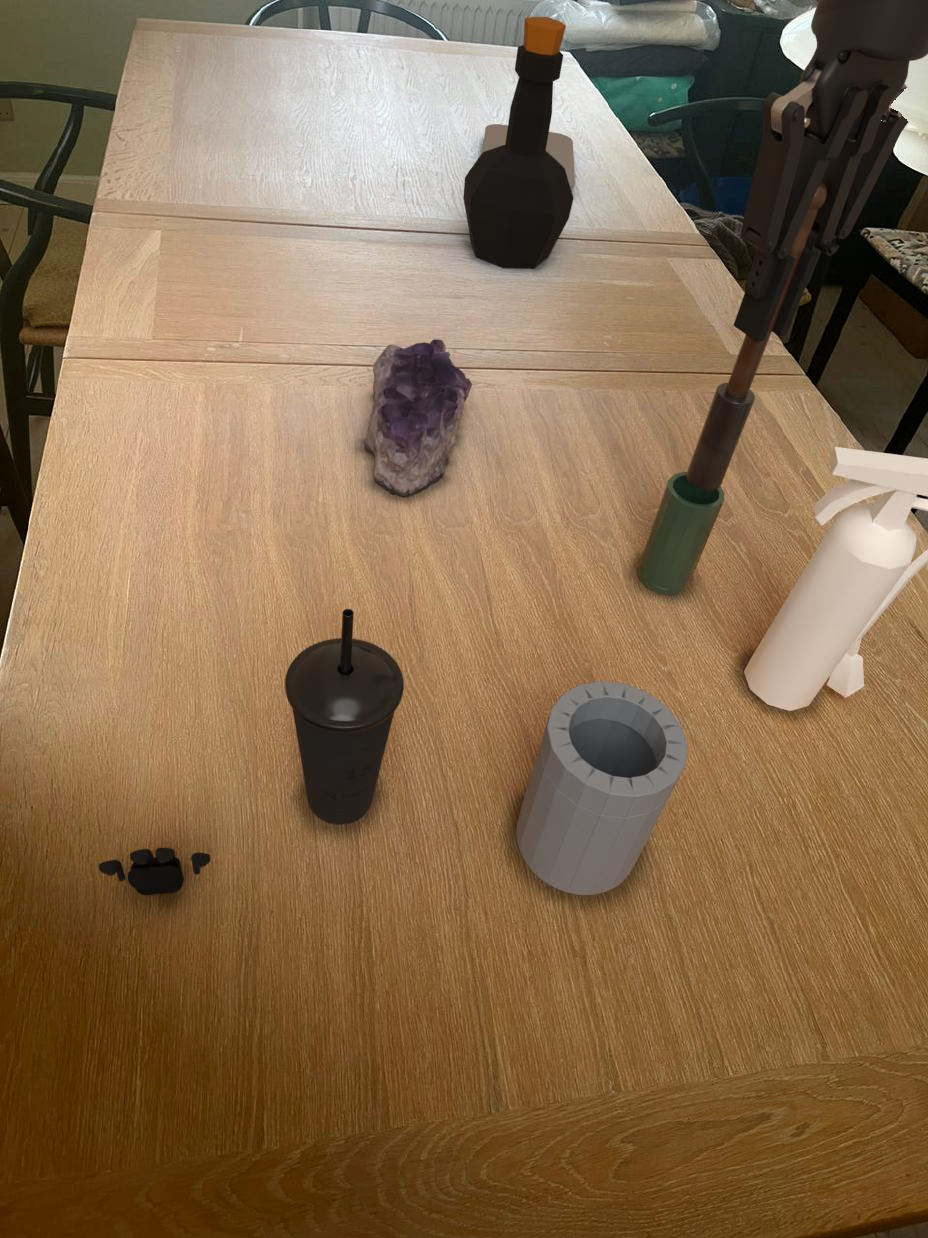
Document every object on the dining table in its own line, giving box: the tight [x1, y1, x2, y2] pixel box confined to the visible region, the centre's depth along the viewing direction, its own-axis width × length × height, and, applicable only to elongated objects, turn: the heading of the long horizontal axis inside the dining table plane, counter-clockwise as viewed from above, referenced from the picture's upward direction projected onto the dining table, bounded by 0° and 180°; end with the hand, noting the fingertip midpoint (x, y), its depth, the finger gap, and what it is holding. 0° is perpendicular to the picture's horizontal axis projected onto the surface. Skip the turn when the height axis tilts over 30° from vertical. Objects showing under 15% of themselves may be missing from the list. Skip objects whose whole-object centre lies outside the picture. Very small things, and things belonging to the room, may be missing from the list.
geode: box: [364, 338, 473, 498], centre depth 98 cm, size 20×12×10 cm, turn 178°
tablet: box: [481, 123, 576, 190], centre depth 162 cm, size 16×26×2 cm, turn 176°
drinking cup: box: [284, 608, 405, 825], centre depth 62 cm, size 8×8×20 cm
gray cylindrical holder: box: [515, 680, 689, 896], centre depth 65 cm, size 9×9×13 cm
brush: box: [686, 181, 827, 491], centre depth 73 cm, size 3×3×26 cm
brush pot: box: [636, 471, 725, 596], centre depth 87 cm, size 5×5×11 cm
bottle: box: [462, 16, 575, 269], centre depth 128 cm, size 16×16×30 cm
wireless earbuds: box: [98, 847, 211, 896], centre depth 60 cm, size 7×2×5 cm, turn 100°
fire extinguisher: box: [743, 446, 928, 712], centre depth 74 cm, size 7×12×25 cm, turn 79°
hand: (760, 329), depth 72 cm, fingers closed on brush, 2 cm apart
